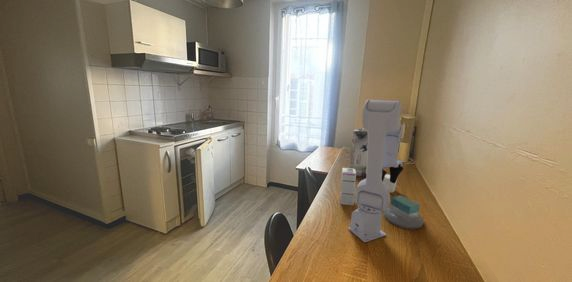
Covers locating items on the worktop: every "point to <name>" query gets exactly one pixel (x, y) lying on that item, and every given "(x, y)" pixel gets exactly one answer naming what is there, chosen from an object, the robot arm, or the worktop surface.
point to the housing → (404, 208)
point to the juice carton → (359, 151)
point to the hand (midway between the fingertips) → (386, 183)
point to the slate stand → (403, 221)
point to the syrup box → (348, 186)
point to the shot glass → (389, 183)
